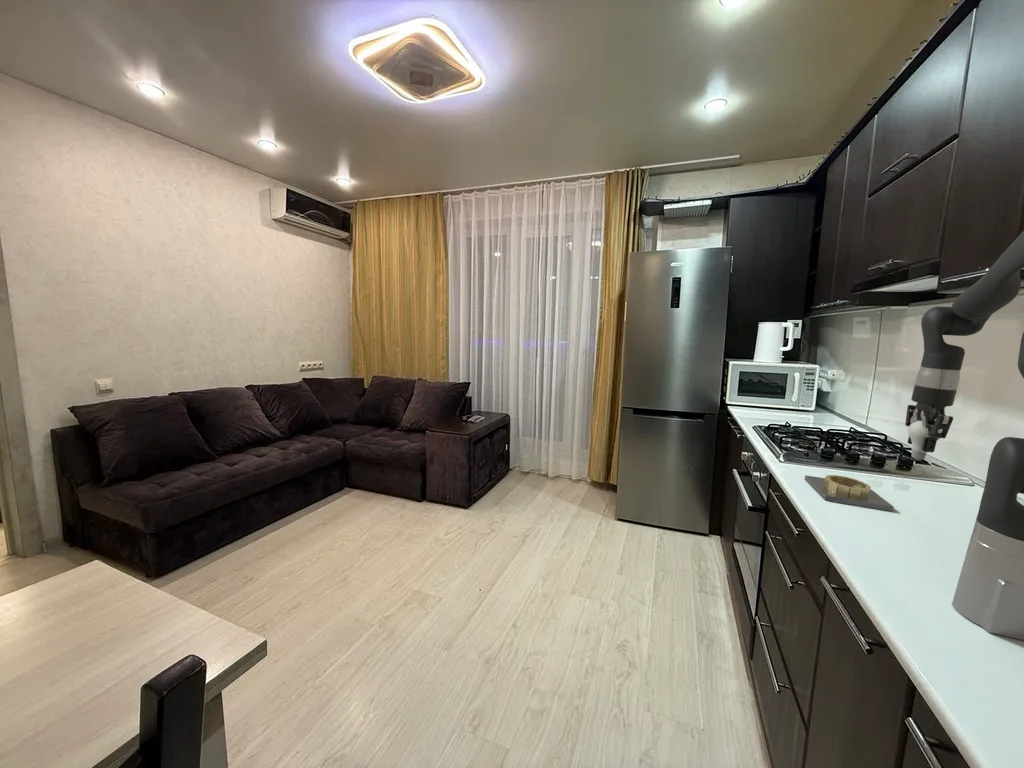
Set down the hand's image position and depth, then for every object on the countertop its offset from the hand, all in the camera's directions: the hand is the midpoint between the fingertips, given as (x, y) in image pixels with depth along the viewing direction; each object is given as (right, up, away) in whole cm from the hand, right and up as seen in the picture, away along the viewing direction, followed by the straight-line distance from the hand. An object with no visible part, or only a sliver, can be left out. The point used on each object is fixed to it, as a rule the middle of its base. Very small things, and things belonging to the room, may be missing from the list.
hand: (920, 447), depth 104 cm
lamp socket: (-6, -17, +16) cm, 24 cm away
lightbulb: (0, -4, +1) cm, 4 cm away
